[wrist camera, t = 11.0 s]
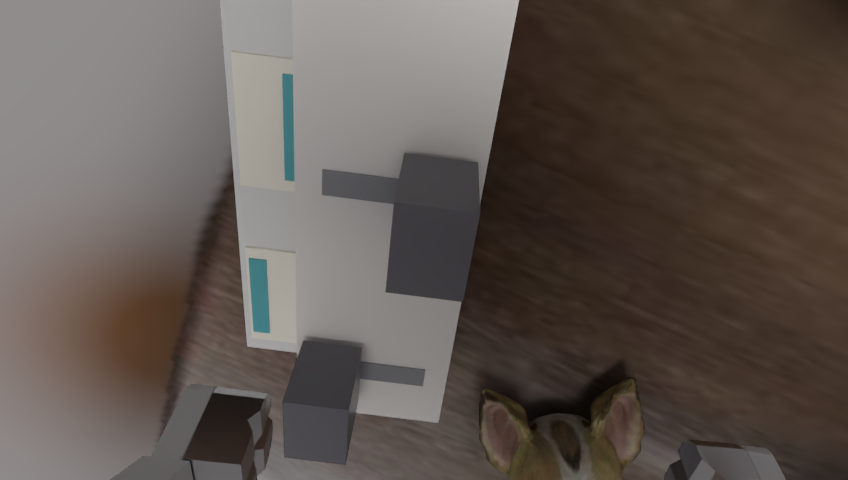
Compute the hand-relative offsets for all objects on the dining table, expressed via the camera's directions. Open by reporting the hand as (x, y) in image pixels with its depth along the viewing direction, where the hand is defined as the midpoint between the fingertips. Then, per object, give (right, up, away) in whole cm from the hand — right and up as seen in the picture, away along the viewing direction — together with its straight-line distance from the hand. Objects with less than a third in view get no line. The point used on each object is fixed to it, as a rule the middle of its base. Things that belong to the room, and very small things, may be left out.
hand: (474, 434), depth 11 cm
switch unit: (-4, +9, +18) cm, 21 cm away
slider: (-6, -3, +19) cm, 20 cm away
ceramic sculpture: (+9, -10, +31) cm, 33 cm away
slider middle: (-1, +5, +13) cm, 14 cm away
